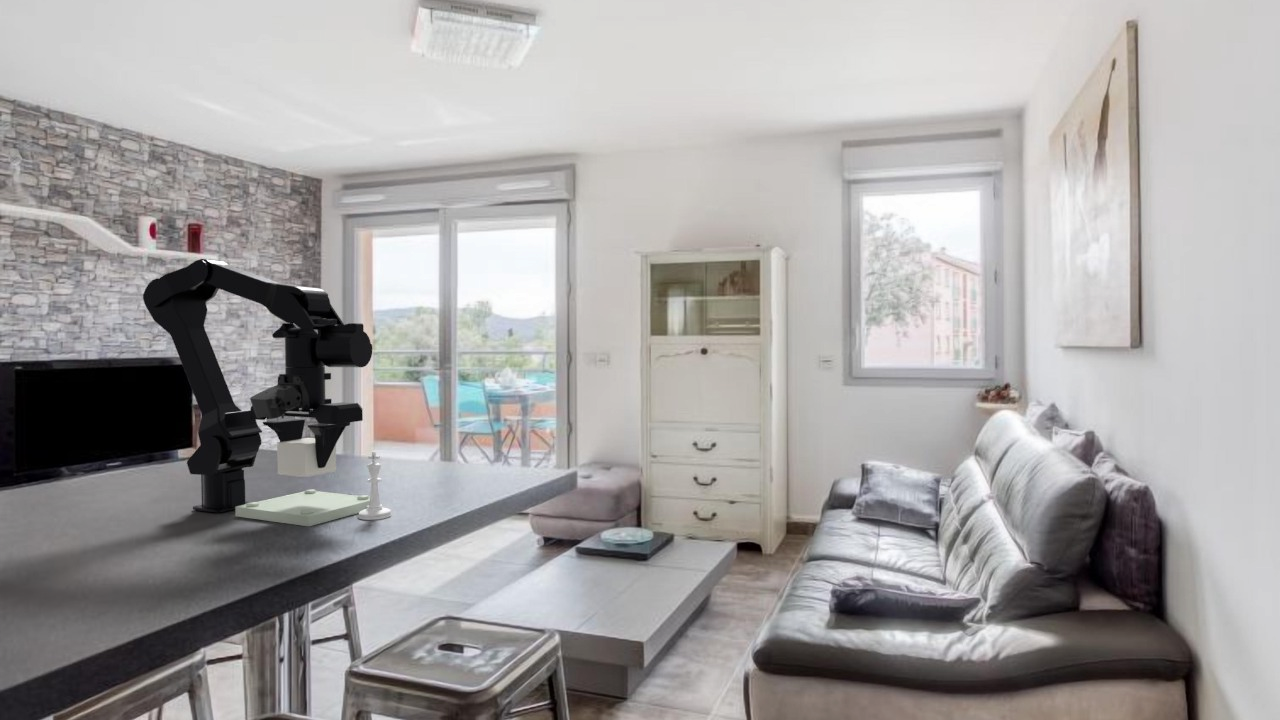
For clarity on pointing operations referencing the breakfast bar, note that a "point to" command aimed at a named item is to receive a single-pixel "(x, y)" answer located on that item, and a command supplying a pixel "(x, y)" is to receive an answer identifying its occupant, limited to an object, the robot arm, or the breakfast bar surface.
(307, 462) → the brick
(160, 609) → the breakfast bar surface
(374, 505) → the chess piece
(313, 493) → the baseplate
